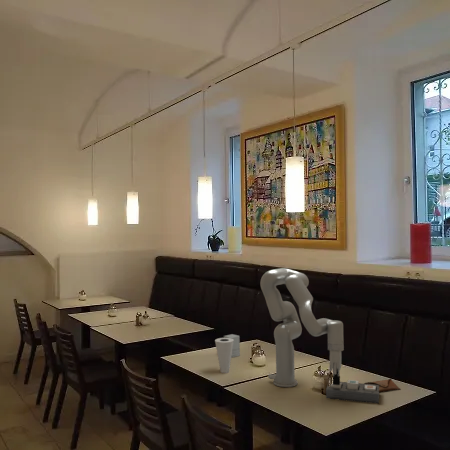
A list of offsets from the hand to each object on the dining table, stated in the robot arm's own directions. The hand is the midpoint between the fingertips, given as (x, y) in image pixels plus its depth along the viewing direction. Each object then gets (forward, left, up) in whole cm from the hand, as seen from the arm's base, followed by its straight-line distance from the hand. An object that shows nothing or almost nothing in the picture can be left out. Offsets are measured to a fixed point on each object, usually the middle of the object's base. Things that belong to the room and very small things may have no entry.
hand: (336, 383), depth 245 cm
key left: (0, 0, -4) cm, 4 cm away
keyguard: (+8, 0, -5) cm, 9 cm away
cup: (-64, +21, -6) cm, 68 cm away
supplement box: (-70, +54, -6) cm, 89 cm away
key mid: (+8, 0, -2) cm, 8 cm away
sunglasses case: (+21, +14, -6) cm, 26 cm away
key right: (+16, 0, -4) cm, 16 cm away
